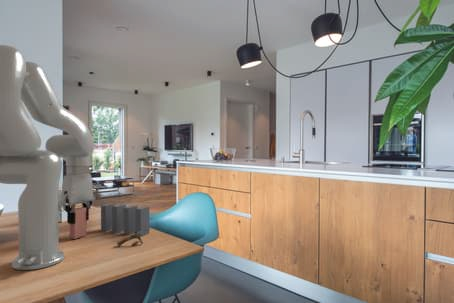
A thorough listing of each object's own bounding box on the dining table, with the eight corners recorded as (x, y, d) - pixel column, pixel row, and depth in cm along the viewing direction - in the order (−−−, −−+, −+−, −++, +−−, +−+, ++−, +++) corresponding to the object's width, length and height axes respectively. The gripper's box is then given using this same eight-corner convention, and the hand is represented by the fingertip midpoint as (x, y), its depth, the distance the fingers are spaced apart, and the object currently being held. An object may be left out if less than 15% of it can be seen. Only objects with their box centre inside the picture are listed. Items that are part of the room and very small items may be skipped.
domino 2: (115, 228, 116) (115, 203, 116) (105, 231, 111) (105, 206, 111) (110, 227, 117) (110, 203, 116) (101, 231, 112) (100, 205, 112)
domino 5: (149, 233, 109) (149, 206, 109) (140, 236, 105) (140, 209, 105) (144, 232, 110) (144, 206, 110) (135, 236, 106) (135, 208, 106)
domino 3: (126, 230, 114) (126, 204, 113) (117, 233, 109) (116, 207, 109) (121, 229, 115) (121, 204, 114) (112, 232, 110) (111, 206, 110)
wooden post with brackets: (145, 242, 96) (139, 230, 96) (122, 254, 94) (116, 242, 94) (145, 240, 98) (139, 229, 97) (122, 252, 96) (116, 240, 96)
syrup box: (70, 219, 131) (70, 187, 130) (61, 222, 125) (61, 189, 125) (58, 218, 131) (58, 187, 131) (49, 222, 125) (48, 188, 125)
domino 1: (86, 235, 106) (86, 207, 106) (74, 238, 101) (74, 210, 101) (81, 234, 107) (81, 207, 107) (69, 238, 102) (69, 209, 102)
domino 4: (137, 231, 112) (137, 205, 111) (128, 235, 107) (128, 208, 107) (132, 230, 112) (132, 205, 112) (123, 234, 108) (123, 207, 108)
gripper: (89, 169, 113) (89, 216, 113) (48, 172, 98) (48, 226, 97) (104, 170, 110) (104, 217, 110) (64, 172, 95) (64, 228, 95)
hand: (78, 221), depth 104 cm, fingers closed on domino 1, 4 cm apart
